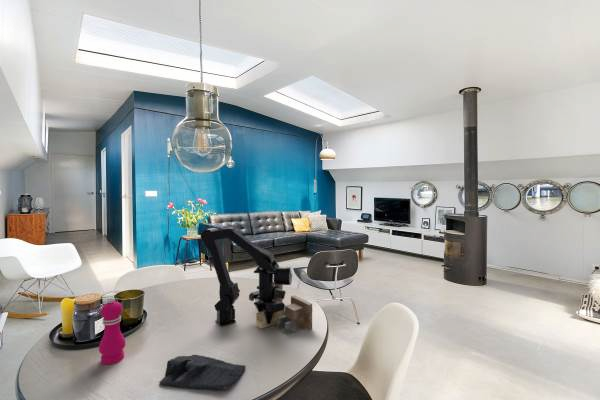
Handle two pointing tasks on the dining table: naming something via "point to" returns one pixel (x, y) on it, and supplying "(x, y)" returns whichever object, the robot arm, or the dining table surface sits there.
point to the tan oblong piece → (261, 318)
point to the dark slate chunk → (201, 372)
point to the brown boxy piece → (296, 316)
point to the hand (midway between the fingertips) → (266, 322)
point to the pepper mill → (112, 333)
